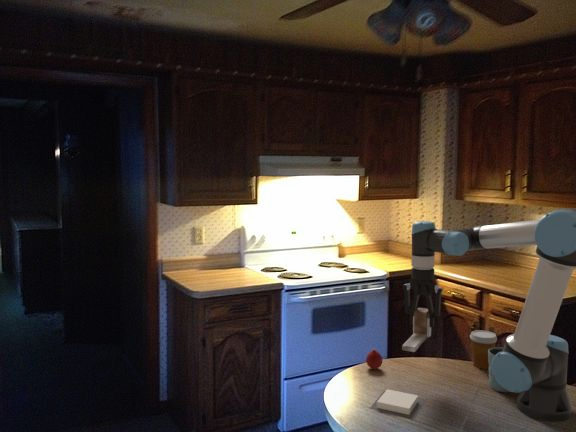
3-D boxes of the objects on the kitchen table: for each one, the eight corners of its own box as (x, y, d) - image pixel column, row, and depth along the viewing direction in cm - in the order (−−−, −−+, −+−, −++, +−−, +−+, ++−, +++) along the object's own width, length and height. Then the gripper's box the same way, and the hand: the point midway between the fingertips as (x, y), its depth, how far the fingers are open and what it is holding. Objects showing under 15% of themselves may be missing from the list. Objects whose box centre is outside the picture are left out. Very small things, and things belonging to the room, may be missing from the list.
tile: (418, 395, 173) (409, 408, 164) (418, 402, 173) (409, 415, 165) (387, 389, 178) (377, 401, 169) (387, 395, 178) (376, 408, 169)
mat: (426, 400, 175) (426, 399, 175) (415, 419, 163) (415, 418, 163) (384, 391, 182) (384, 390, 182) (369, 409, 169) (369, 408, 169)
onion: (383, 367, 202) (383, 346, 201) (381, 373, 196) (381, 352, 195) (367, 366, 203) (367, 345, 203) (364, 372, 198) (365, 350, 197)
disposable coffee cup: (469, 369, 200) (470, 337, 199) (467, 359, 209) (468, 329, 208) (497, 371, 198) (499, 339, 196) (494, 361, 207) (495, 330, 206)
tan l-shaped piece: (429, 334, 190) (429, 308, 189) (414, 352, 173) (415, 324, 172) (418, 333, 192) (418, 307, 191) (402, 350, 175) (402, 322, 174)
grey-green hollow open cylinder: (481, 386, 186) (482, 351, 184) (496, 378, 192) (497, 344, 191) (510, 396, 178) (511, 360, 177) (524, 387, 185) (526, 352, 183)
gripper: (451, 267, 185) (449, 335, 188) (401, 263, 193) (400, 328, 196) (446, 271, 179) (445, 342, 181) (394, 267, 187) (394, 334, 189)
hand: (422, 335), depth 188 cm, fingers closed on tan l-shaped piece, 4 cm apart
